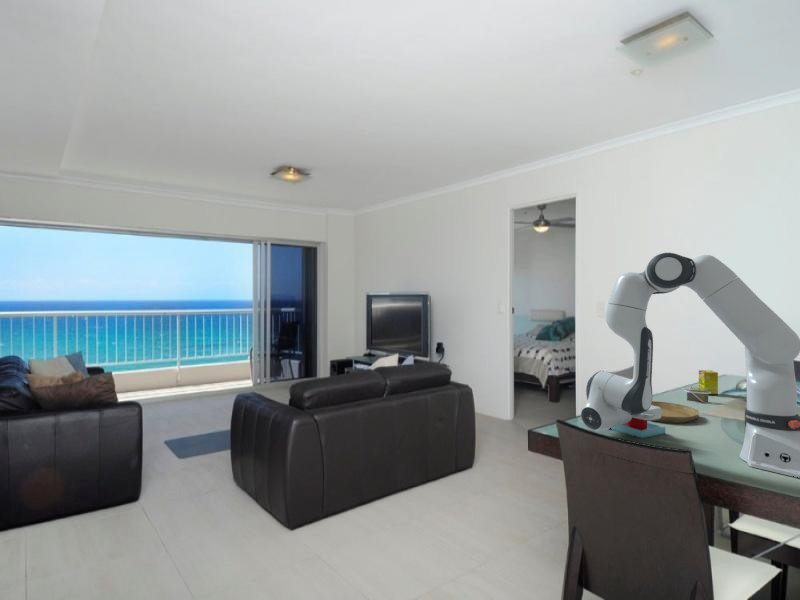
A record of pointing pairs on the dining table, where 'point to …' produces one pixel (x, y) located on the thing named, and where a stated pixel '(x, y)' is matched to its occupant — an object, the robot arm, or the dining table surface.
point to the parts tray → (649, 432)
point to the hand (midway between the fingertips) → (638, 404)
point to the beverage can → (637, 424)
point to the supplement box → (708, 381)
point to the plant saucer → (675, 412)
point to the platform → (697, 395)
